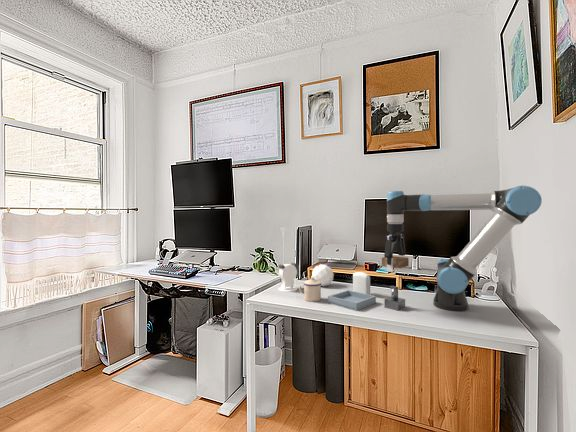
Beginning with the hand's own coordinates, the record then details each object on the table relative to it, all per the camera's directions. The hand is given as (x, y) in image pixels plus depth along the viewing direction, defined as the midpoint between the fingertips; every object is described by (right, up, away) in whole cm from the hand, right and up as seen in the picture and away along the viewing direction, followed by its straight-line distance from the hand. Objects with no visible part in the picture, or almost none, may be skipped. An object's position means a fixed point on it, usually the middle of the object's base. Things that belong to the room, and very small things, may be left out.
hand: (395, 270), depth 152 cm
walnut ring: (0, +2, 0) cm, 2 cm away
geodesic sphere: (-30, -17, +44) cm, 56 cm away
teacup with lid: (-40, -18, +15) cm, 46 cm away
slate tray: (-19, -18, +8) cm, 28 cm away
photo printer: (-11, -18, +23) cm, 31 cm away
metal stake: (0, -18, +1) cm, 18 cm away
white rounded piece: (-51, -18, +36) cm, 65 cm away
